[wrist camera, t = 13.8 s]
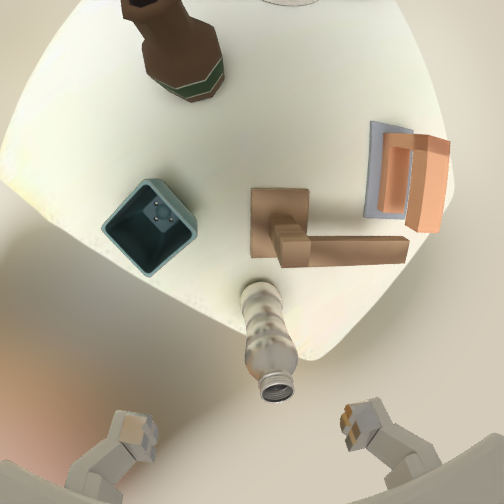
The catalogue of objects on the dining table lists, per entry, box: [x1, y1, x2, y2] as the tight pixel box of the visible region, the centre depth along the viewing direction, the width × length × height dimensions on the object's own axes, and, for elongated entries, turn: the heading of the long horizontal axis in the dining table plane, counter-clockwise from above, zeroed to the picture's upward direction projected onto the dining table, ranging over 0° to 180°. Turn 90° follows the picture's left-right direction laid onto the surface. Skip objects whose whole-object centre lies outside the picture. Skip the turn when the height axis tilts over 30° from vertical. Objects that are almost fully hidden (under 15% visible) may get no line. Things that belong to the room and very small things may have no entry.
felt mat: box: [363, 121, 413, 220], centre depth 37 cm, size 15×8×1 cm, turn 179°
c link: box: [377, 133, 450, 233], centre depth 31 cm, size 12×4×11 cm, turn 179°
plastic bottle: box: [240, 282, 298, 403], centre depth 34 cm, size 6×7×20 cm
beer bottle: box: [121, 0, 224, 103], centre depth 19 cm, size 8×8×24 cm
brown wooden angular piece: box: [251, 189, 410, 268], centre depth 34 cm, size 10×18×12 cm, turn 90°
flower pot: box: [101, 178, 197, 277], centre depth 33 cm, size 9×9×9 cm
